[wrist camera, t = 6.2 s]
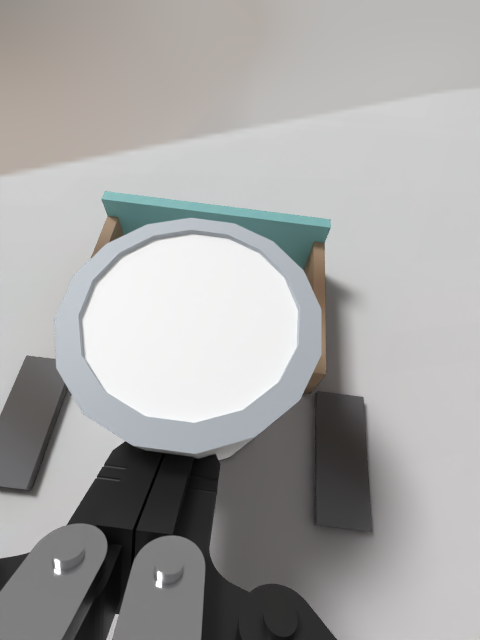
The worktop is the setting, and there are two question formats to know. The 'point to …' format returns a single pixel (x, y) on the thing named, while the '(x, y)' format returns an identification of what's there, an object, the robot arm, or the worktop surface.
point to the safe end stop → (221, 220)
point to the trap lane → (330, 409)
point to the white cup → (188, 336)
